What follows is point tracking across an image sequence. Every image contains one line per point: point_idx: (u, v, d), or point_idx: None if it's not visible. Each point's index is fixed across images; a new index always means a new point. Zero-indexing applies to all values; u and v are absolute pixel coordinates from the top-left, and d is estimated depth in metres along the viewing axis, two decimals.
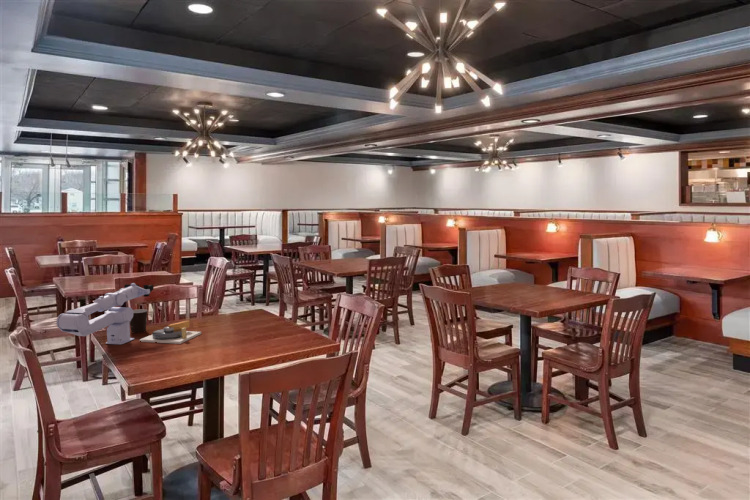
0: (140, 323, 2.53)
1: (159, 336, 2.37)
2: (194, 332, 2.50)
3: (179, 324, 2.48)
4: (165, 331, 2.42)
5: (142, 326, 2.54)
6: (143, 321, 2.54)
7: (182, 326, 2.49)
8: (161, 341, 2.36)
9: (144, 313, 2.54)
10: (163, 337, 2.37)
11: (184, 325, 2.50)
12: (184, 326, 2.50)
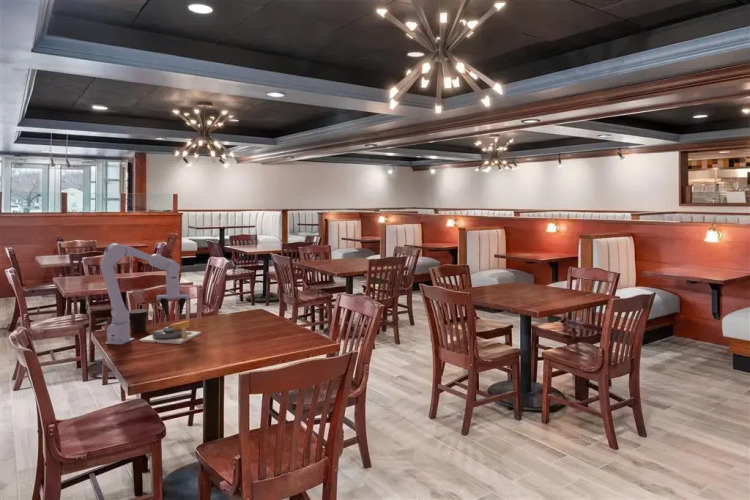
0: (140, 323, 2.53)
1: (159, 336, 2.37)
2: (194, 332, 2.50)
3: (179, 324, 2.48)
4: (165, 331, 2.42)
5: (142, 326, 2.54)
6: (143, 321, 2.54)
7: (182, 326, 2.49)
8: (161, 341, 2.36)
9: (144, 313, 2.54)
10: (163, 337, 2.37)
11: (184, 325, 2.50)
12: (184, 326, 2.50)
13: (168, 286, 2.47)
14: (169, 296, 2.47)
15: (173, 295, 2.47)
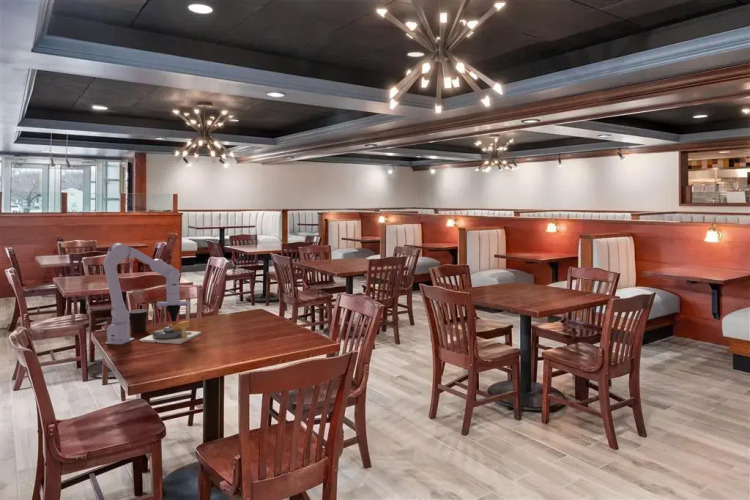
0: (140, 323, 2.53)
1: (159, 336, 2.37)
2: (194, 332, 2.50)
3: (179, 324, 2.48)
4: (165, 331, 2.42)
5: (142, 326, 2.54)
6: (143, 321, 2.54)
7: (182, 326, 2.49)
8: (161, 341, 2.36)
9: (144, 313, 2.54)
10: (163, 337, 2.37)
11: (184, 325, 2.50)
12: (184, 326, 2.50)
13: (168, 293, 2.47)
14: (169, 303, 2.48)
15: (173, 302, 2.48)
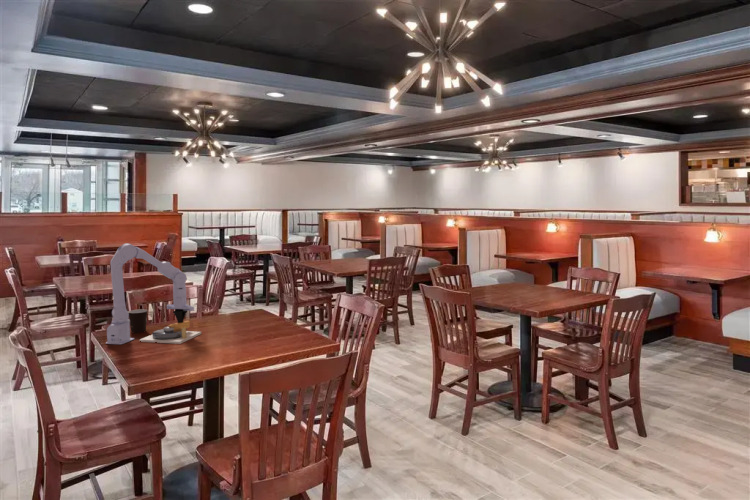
0: (140, 323, 2.53)
1: (159, 336, 2.37)
2: (194, 332, 2.50)
3: (179, 324, 2.47)
4: (165, 331, 2.42)
5: (142, 326, 2.54)
6: (143, 321, 2.54)
7: (182, 326, 2.49)
8: (161, 341, 2.36)
9: (144, 313, 2.54)
10: (163, 337, 2.37)
11: (184, 325, 2.50)
12: (184, 326, 2.50)
13: (173, 296, 2.48)
14: (174, 307, 2.48)
15: (177, 306, 2.47)
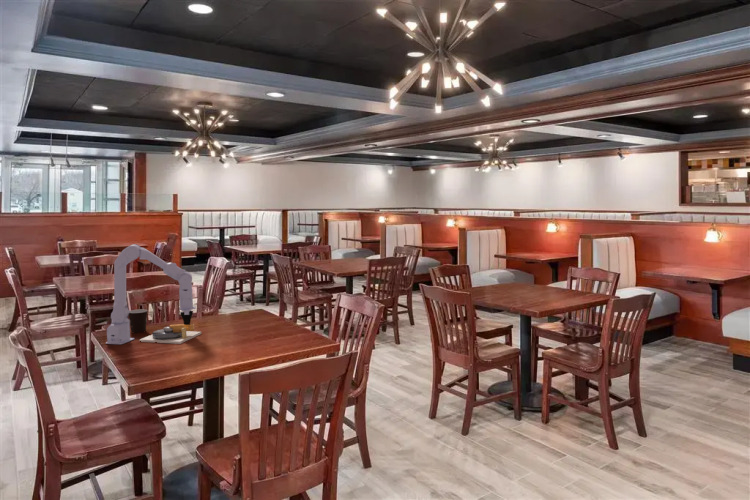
0: (140, 323, 2.53)
1: (152, 334, 2.40)
2: (194, 332, 2.50)
3: (180, 326, 2.44)
4: (163, 330, 2.43)
5: (142, 326, 2.54)
6: (143, 321, 2.54)
7: None
8: (161, 341, 2.36)
9: (144, 313, 2.54)
10: (153, 336, 2.39)
11: (187, 328, 2.45)
12: (187, 329, 2.45)
13: None
14: None
15: (180, 307, 2.44)
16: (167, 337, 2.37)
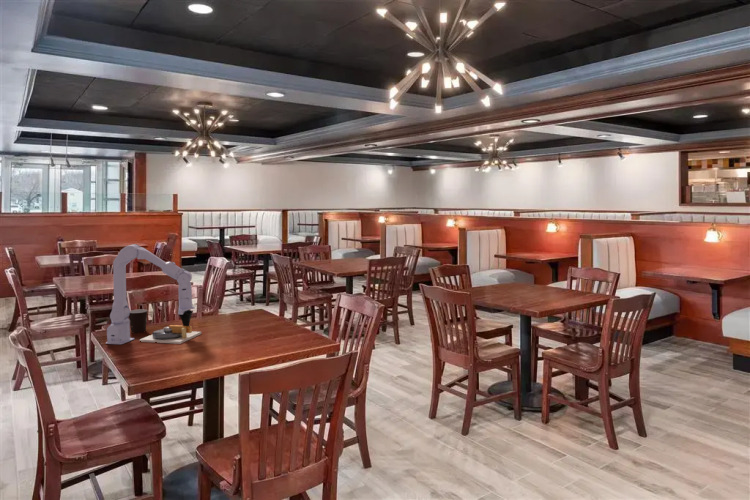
0: (140, 323, 2.53)
1: None
2: (194, 332, 2.50)
3: (178, 327, 2.42)
4: None
5: (142, 326, 2.54)
6: (143, 321, 2.54)
7: (181, 330, 2.42)
8: (161, 341, 2.36)
9: (144, 313, 2.54)
10: None
11: None
12: None
13: None
14: None
15: None
16: (161, 337, 2.37)
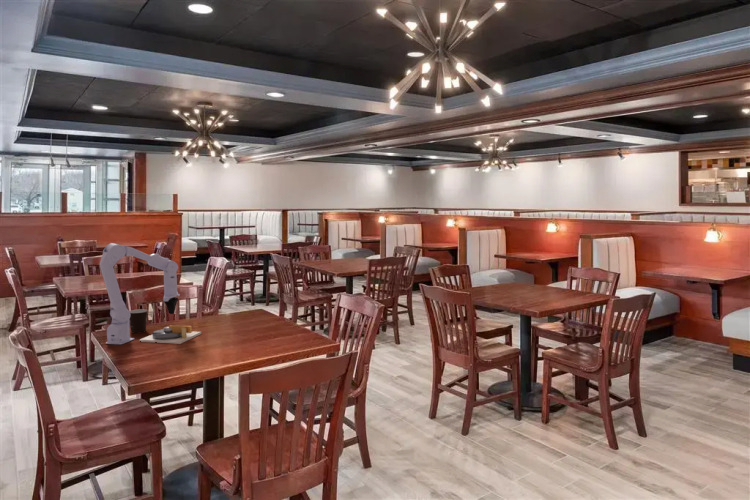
0: (140, 323, 2.53)
1: None
2: (194, 332, 2.50)
3: (178, 327, 2.42)
4: None
5: (142, 326, 2.54)
6: (143, 321, 2.54)
7: (181, 330, 2.42)
8: (161, 341, 2.36)
9: (144, 313, 2.54)
10: None
11: None
12: None
13: None
14: None
15: (164, 294, 2.51)
16: (161, 337, 2.37)
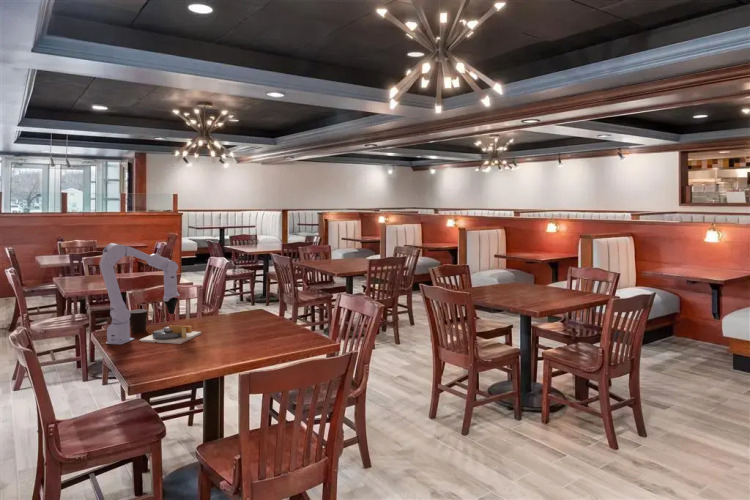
0: (140, 323, 2.53)
1: None
2: (194, 332, 2.50)
3: (178, 327, 2.42)
4: None
5: (142, 326, 2.54)
6: (143, 321, 2.54)
7: (181, 330, 2.42)
8: (161, 341, 2.36)
9: (144, 313, 2.54)
10: None
11: None
12: None
13: None
14: None
15: (164, 294, 2.51)
16: (161, 337, 2.37)
